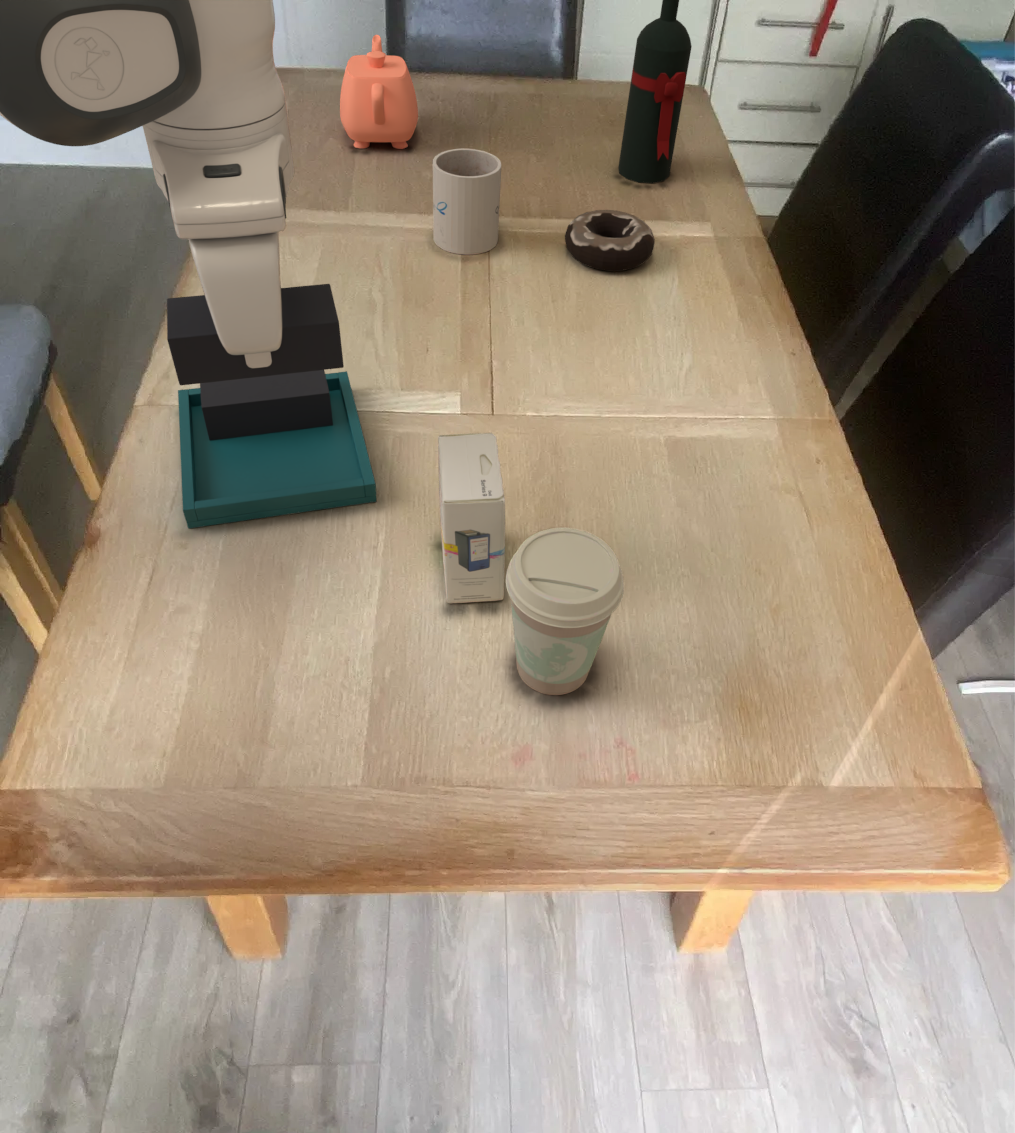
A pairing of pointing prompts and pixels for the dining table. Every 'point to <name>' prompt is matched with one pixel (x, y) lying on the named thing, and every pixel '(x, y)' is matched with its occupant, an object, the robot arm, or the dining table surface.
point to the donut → (609, 240)
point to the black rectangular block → (266, 404)
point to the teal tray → (273, 465)
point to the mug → (466, 201)
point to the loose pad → (302, 349)
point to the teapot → (378, 99)
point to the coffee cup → (561, 605)
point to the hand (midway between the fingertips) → (256, 336)
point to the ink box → (471, 517)
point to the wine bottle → (655, 98)
